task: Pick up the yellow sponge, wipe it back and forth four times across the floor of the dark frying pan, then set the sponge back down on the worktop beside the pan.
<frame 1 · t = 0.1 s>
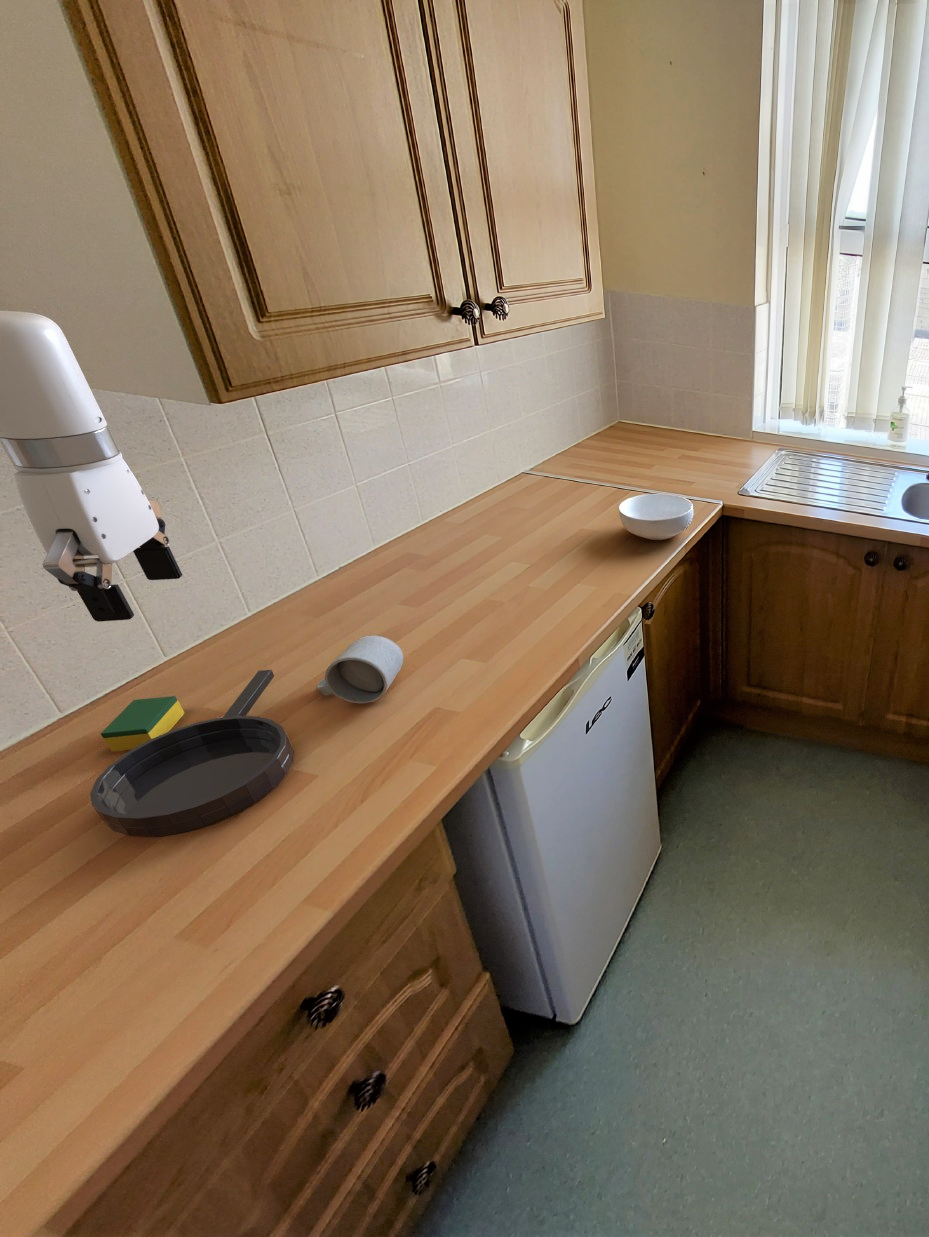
hand: (142, 597, 73), 21 cm above the worktop, tool pointing down, fingers open, 9 cm apart
cereal bowl: (658, 534, 152), on the worktop
ceramic mug: (364, 690, 95), on the worktop
pan handle: (249, 696, 88), point 2 cm above the worktop
sponge: (149, 731, 84), on the worktop
pan: (206, 783, 78), on the worktop
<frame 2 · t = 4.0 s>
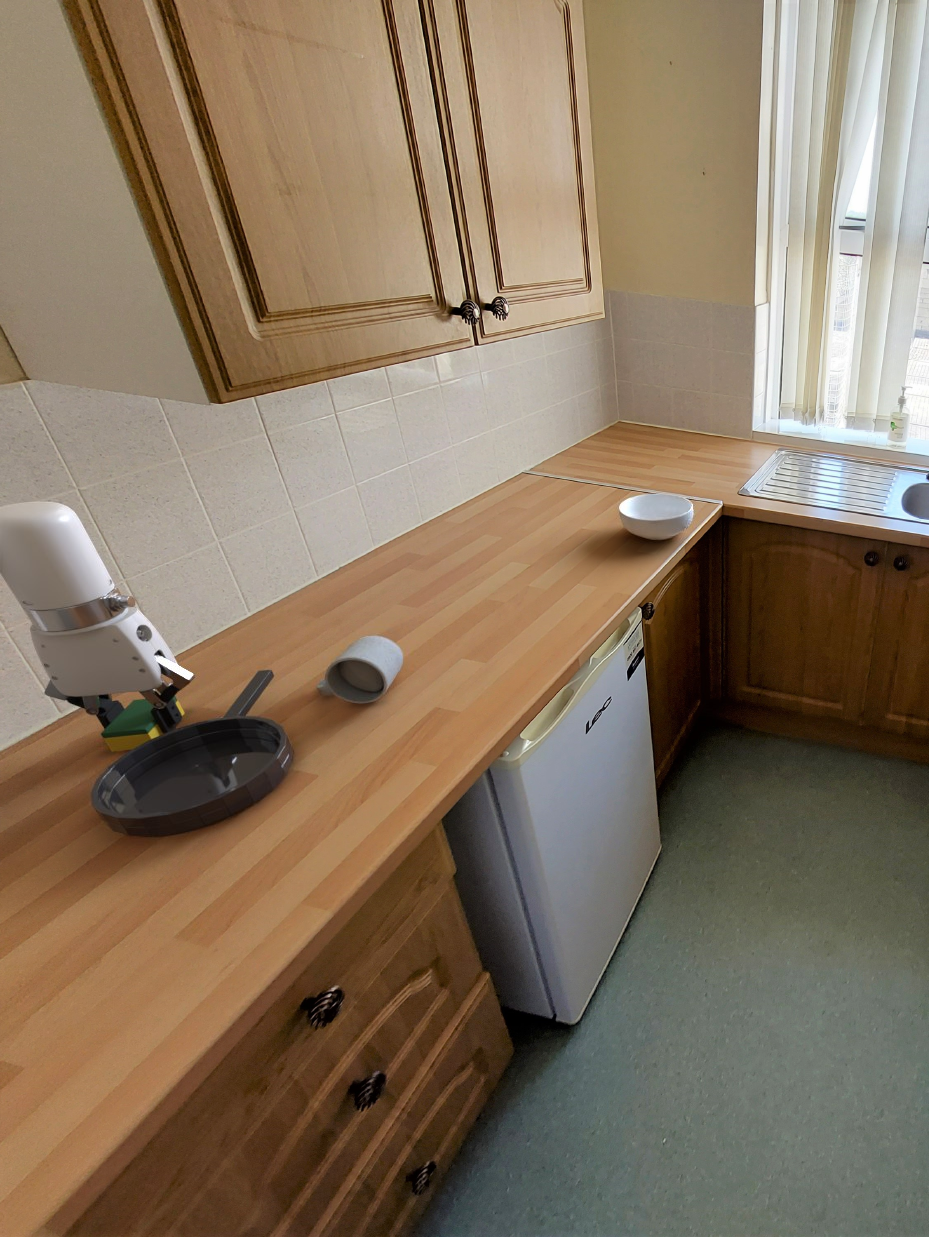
hand: (147, 728, 84), 1 cm above the worktop, tool pointing down, fingers closed on sponge, 4 cm apart
sponge: (149, 731, 84), on the worktop, touching gripper
everything else where it was.
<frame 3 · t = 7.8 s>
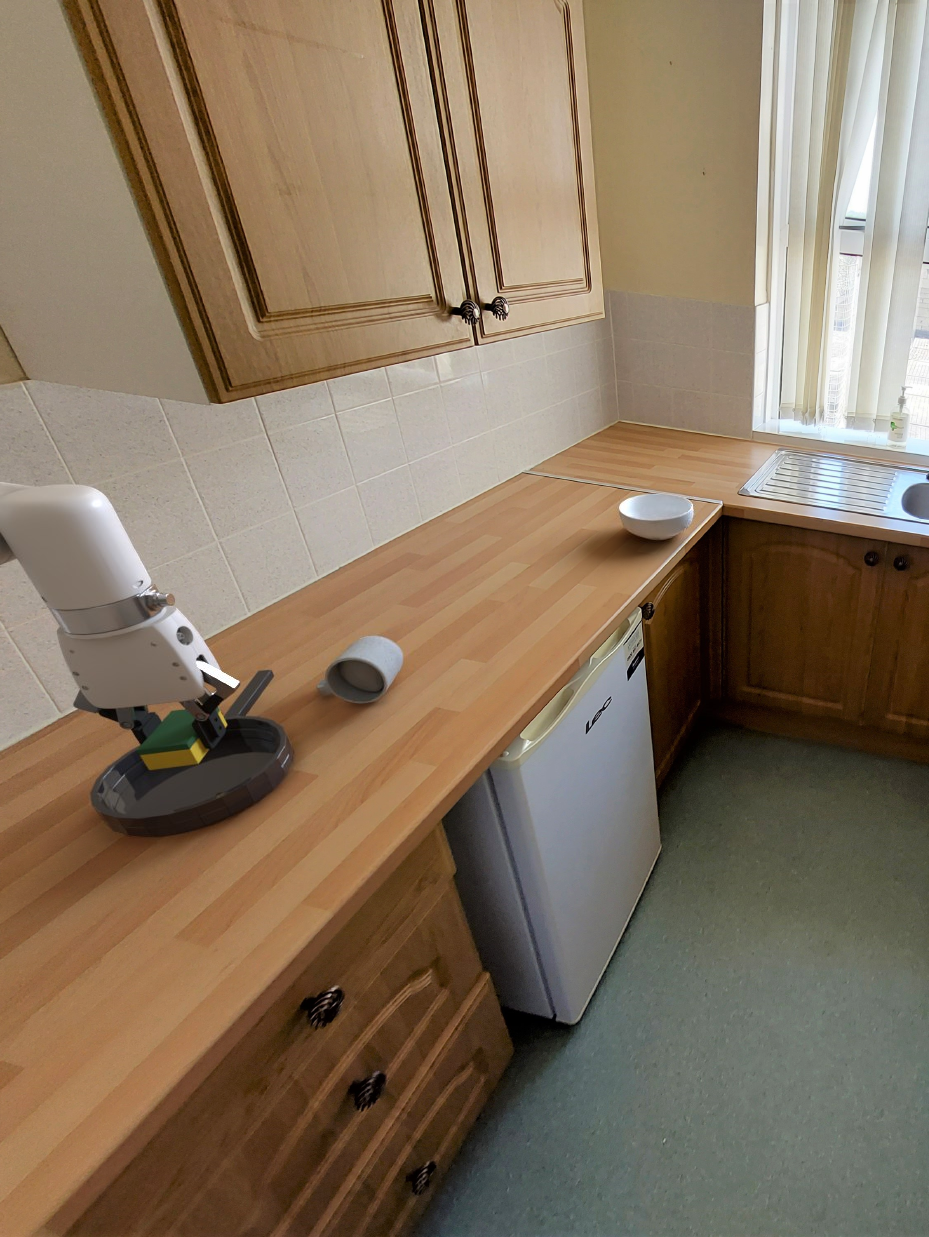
hand: (188, 743, 75), 6 cm above the worktop, tool pointing down, fingers closed on sponge, 4 cm apart
sponge: (190, 746, 75), point 6 cm above the worktop, touching gripper
everything else where it was.
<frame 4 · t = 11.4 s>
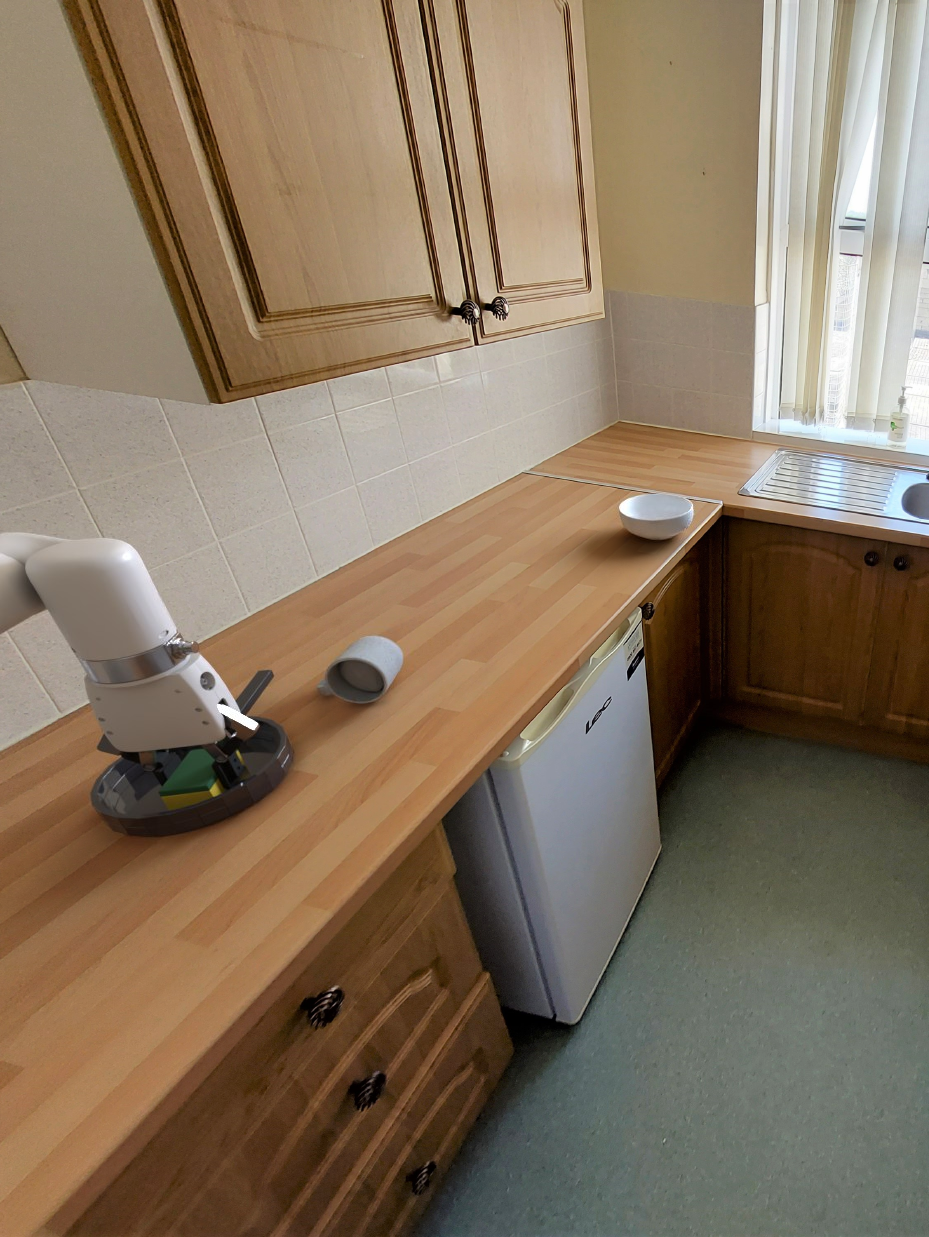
hand: (206, 782, 76), 1 cm above the worktop, tool pointing down, fingers closed on sponge, 4 cm apart
sponge: (208, 786, 76), point 1 cm above the worktop, touching gripper
everything else where it was.
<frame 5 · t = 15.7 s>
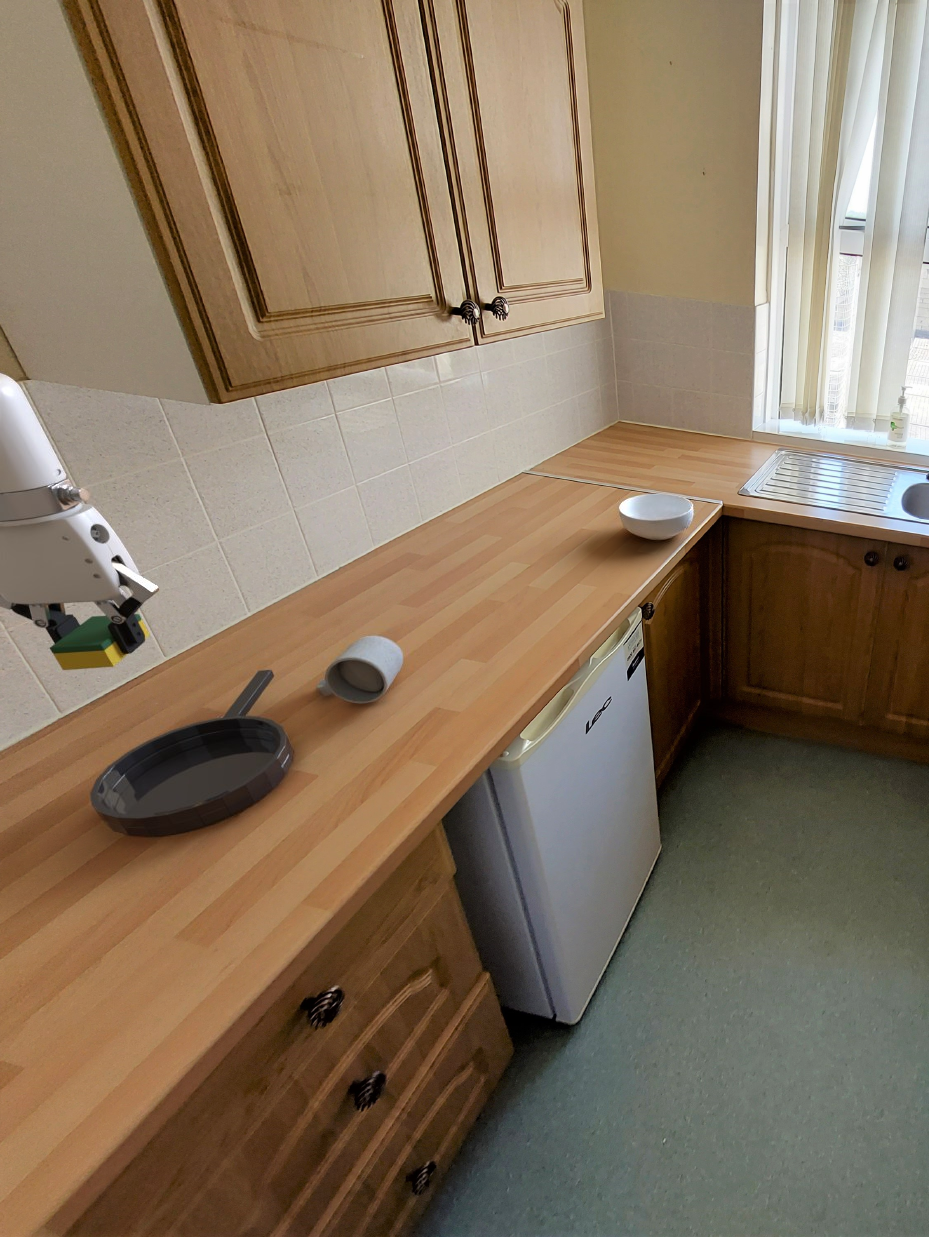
hand: (105, 648, 75), 15 cm above the worktop, tool pointing down, fingers closed on sponge, 4 cm apart
sponge: (108, 651, 75), point 15 cm above the worktop, touching gripper
everything else where it was.
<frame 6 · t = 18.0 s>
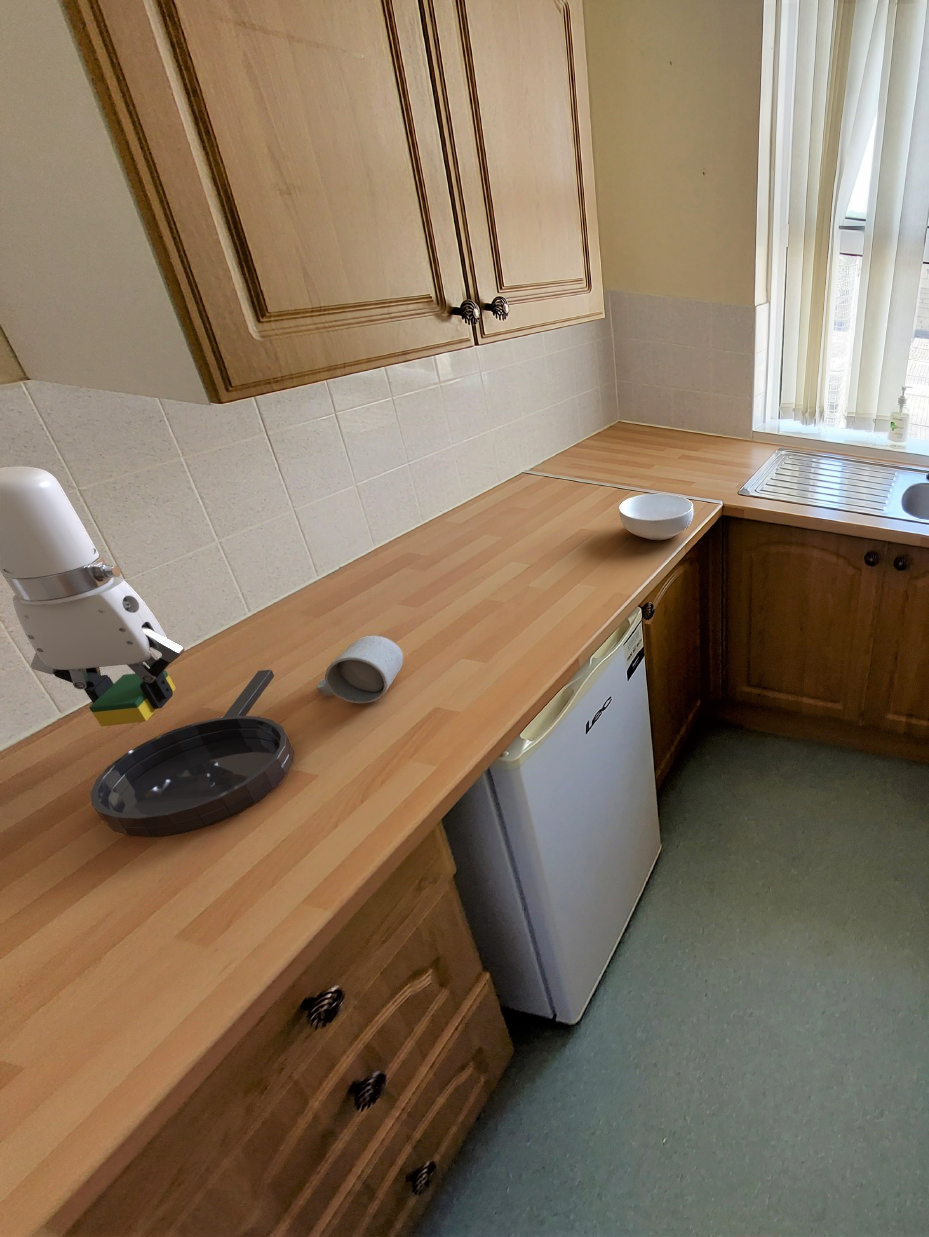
hand: (137, 703, 82), 5 cm above the worktop, tool pointing down, fingers closed on sponge, 4 cm apart
sponge: (140, 706, 83), point 4 cm above the worktop, touching gripper
everything else where it was.
when the fingers open (0 cm above the worktop, at t = 19.3 s): sponge stays where it is, on the worktop.
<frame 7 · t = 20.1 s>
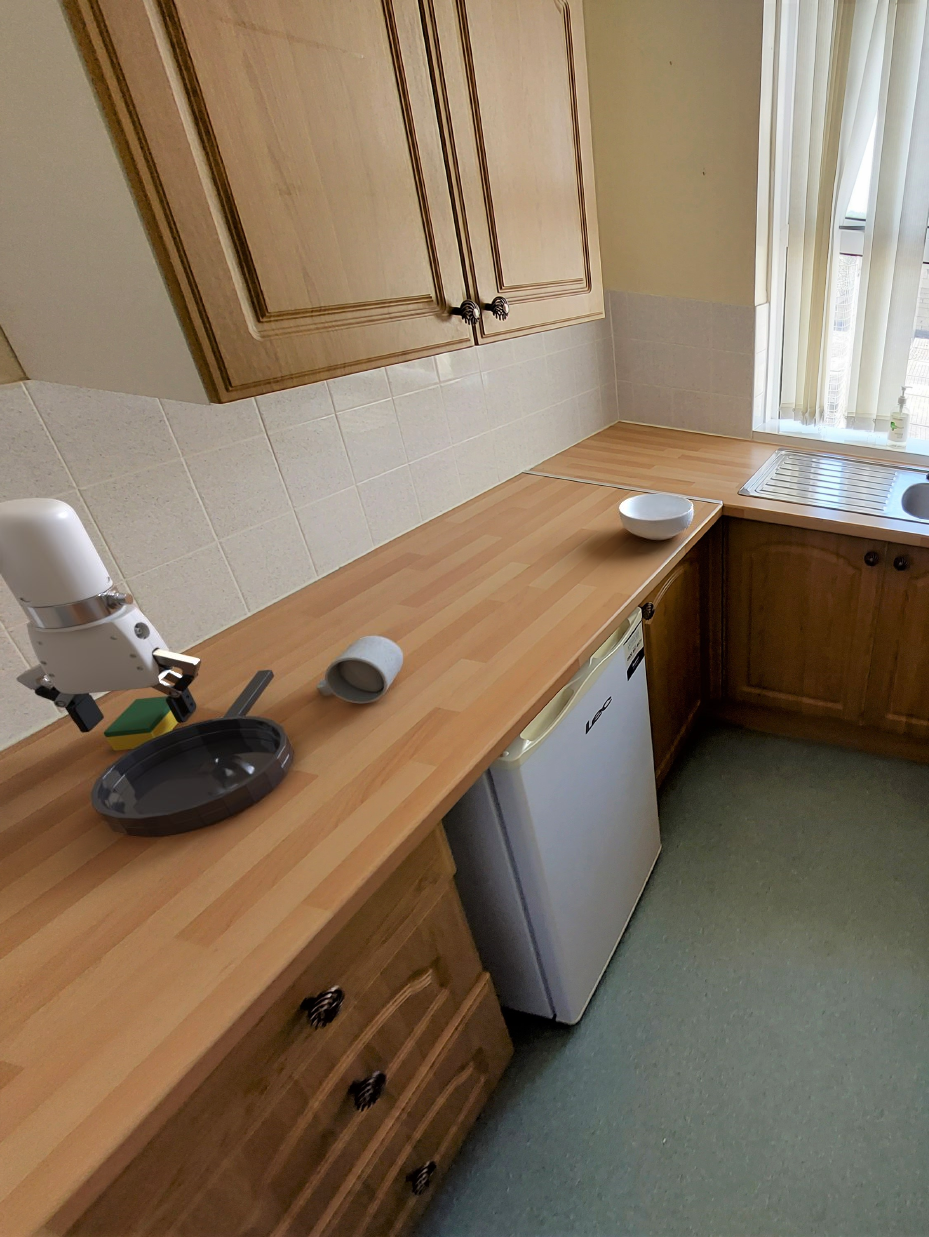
hand: (141, 720, 83), 2 cm above the worktop, tool pointing down, fingers open, 9 cm apart
sponge: (152, 730, 85), on the worktop
everything else where it was.
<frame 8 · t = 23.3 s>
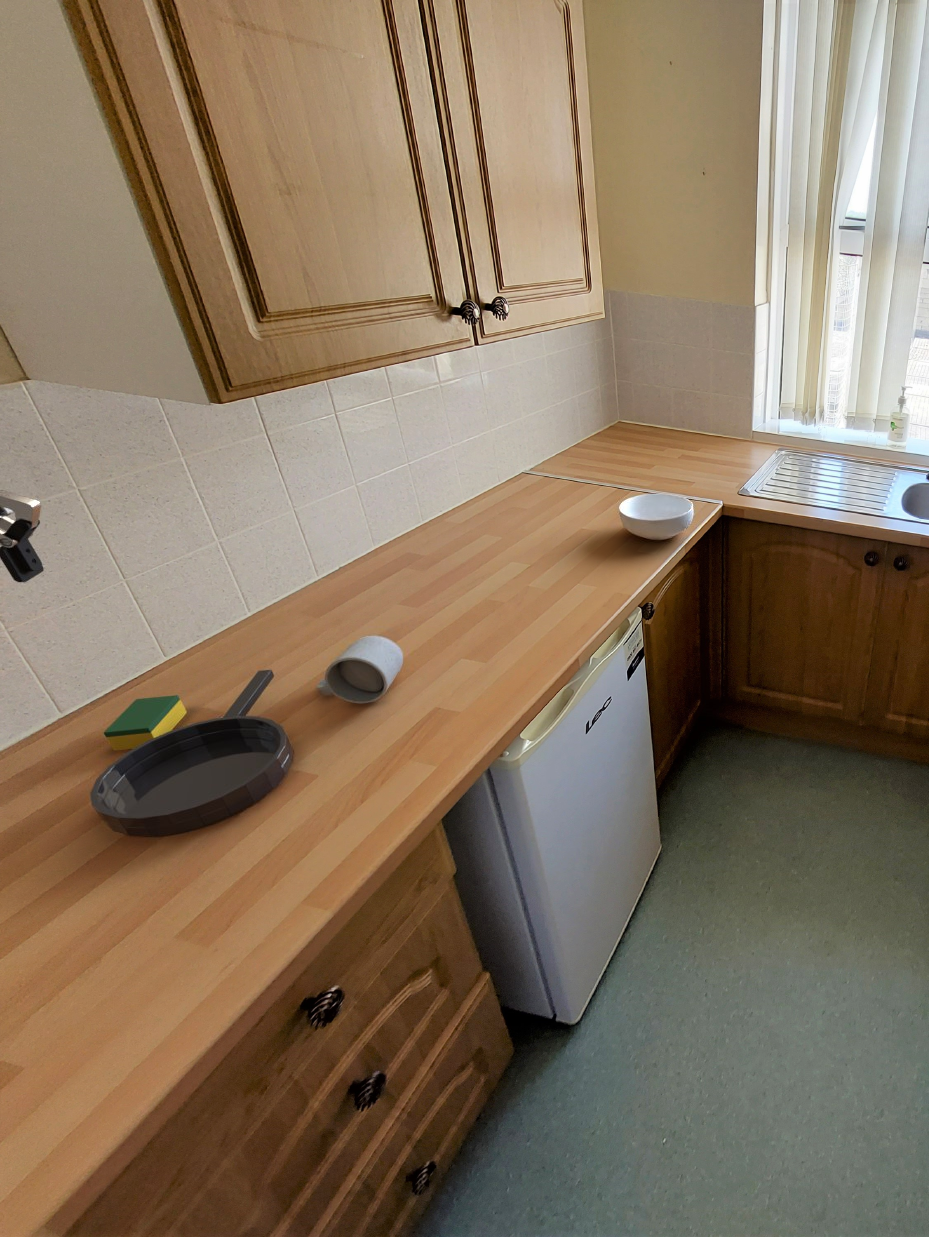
nothing on the worktop moved.
at the end: sponge inside the target area (0.2 cm from its centre), on the worktop; sponge tilted 0°; the gripper is holding nothing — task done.
